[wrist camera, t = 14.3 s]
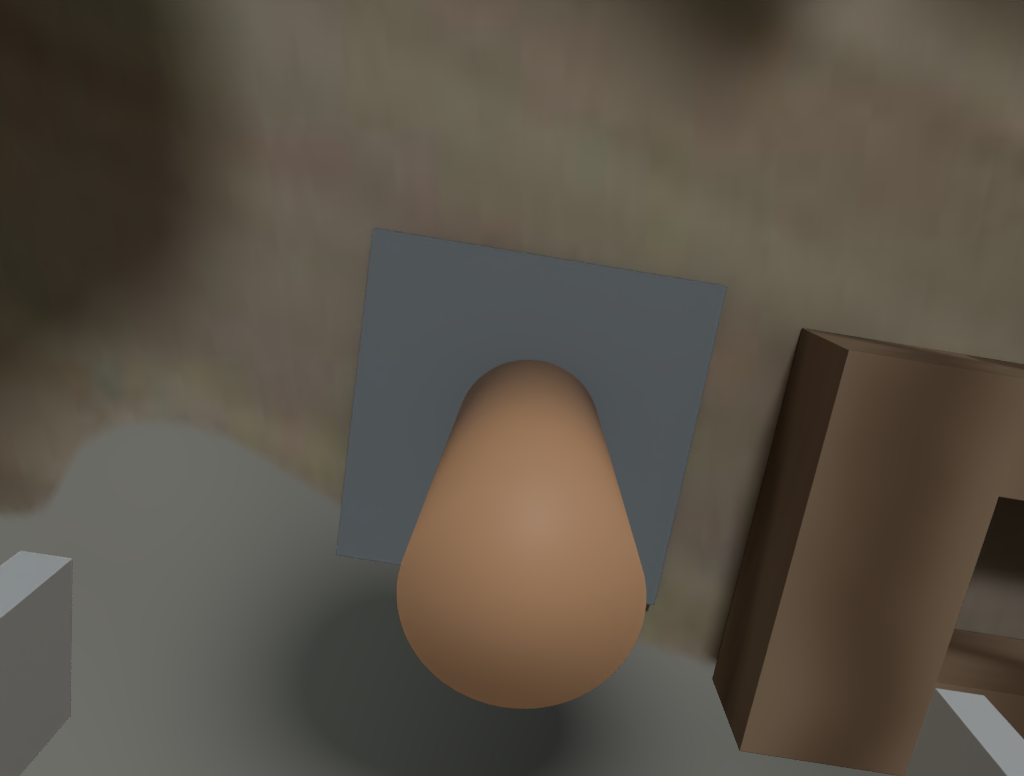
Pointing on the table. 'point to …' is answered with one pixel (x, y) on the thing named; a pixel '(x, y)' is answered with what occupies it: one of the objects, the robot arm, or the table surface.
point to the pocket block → (872, 553)
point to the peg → (523, 547)
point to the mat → (510, 337)
